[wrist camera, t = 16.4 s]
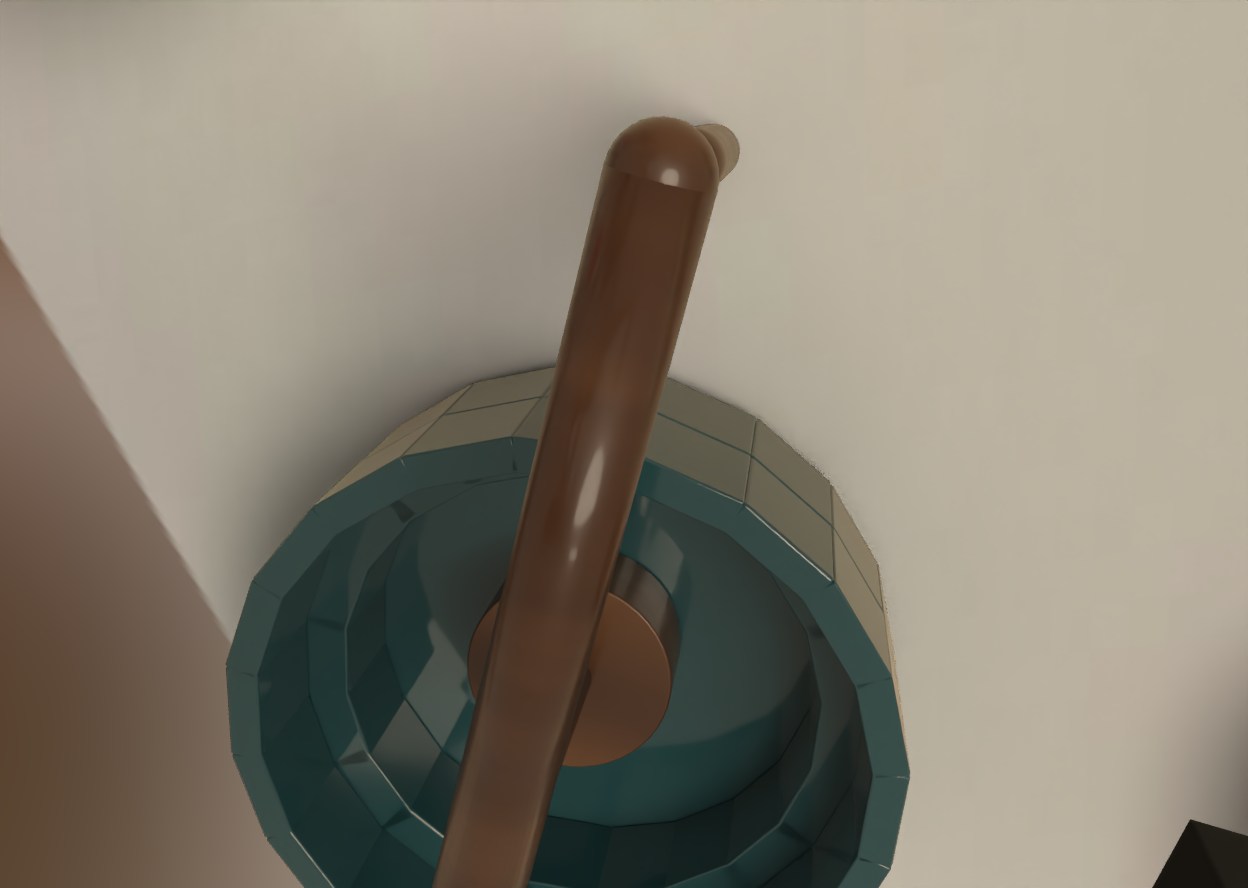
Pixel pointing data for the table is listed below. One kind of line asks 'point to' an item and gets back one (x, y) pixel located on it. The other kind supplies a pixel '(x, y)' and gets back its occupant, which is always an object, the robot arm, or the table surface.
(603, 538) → the bent wooden rod
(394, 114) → the table surface
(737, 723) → the mixing bowl
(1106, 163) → the table surface
